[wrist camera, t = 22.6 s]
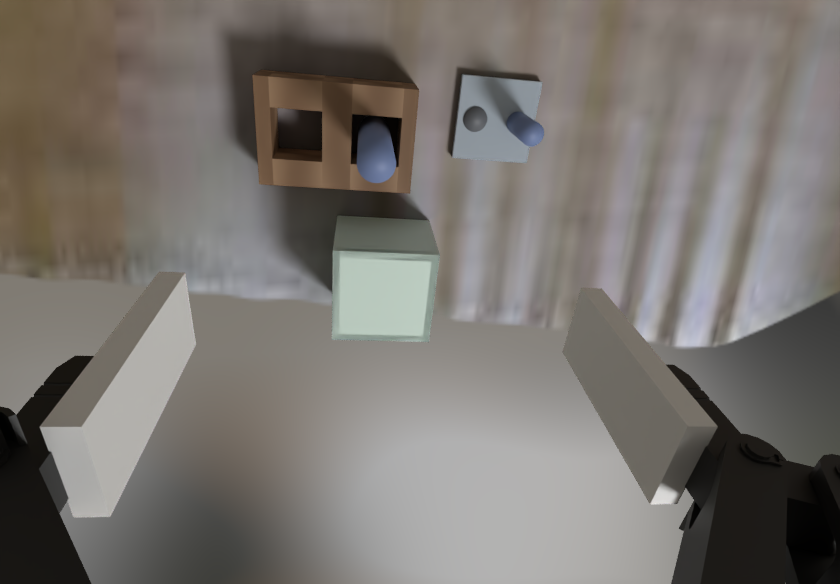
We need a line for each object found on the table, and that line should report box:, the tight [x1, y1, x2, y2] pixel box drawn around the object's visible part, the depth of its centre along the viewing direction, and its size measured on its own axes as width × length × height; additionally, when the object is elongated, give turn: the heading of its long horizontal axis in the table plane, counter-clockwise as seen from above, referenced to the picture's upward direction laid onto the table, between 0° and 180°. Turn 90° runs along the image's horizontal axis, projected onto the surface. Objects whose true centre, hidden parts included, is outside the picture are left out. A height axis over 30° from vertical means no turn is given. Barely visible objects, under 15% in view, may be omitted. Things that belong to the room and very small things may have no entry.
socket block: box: [252, 70, 419, 193], centre depth 40 cm, size 12×8×4 cm, turn 84°
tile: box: [451, 74, 544, 163], centre depth 40 cm, size 7×7×5 cm
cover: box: [332, 215, 440, 342], centre depth 44 cm, size 8×8×8 cm
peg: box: [357, 115, 396, 183], centre depth 37 cm, size 3×3×10 cm
